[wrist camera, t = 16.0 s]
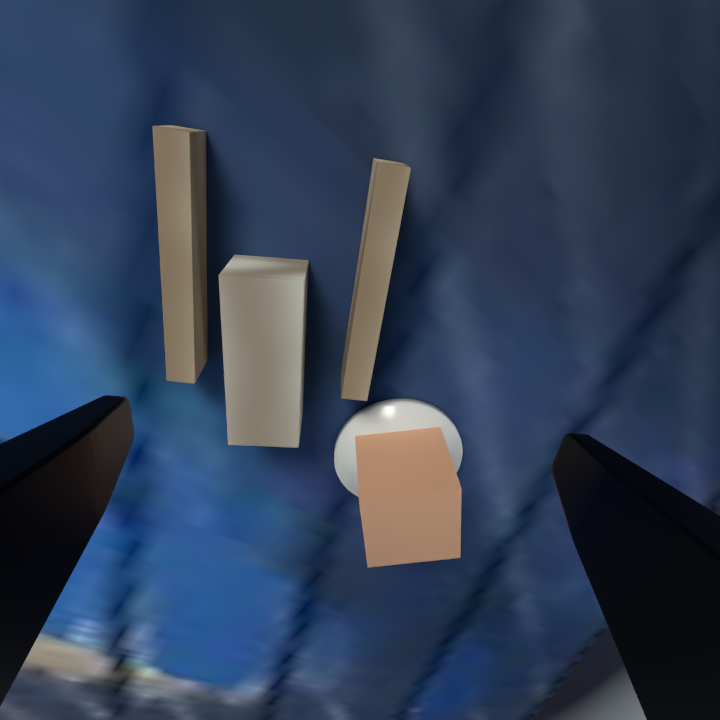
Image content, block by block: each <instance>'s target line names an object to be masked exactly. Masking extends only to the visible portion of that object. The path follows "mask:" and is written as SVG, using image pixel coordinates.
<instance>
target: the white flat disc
mask: <svg viewBox="0 0 720 720" xmlns="http://www.w3.org/2000/svg"><path fill="white" fill-rule="evenodd" d="M435 427H441V430H442V433H443V436H444V439H445V442H446V445H447V448H448V451H449V453H450V456H451V459H452V462H453V465H454V468H455V471H456V473H457V471H458V469H459V467H460V464H461V460H462V453H463V449H462V442H461V439H460V436H459V433H458V431H457V429H456V426H455V425H454V423H453V422H452V420H451V419H450V418H449V417H448V416H447V415H446V414H445V413H444V412H443V411H442V410H440V409H439V408H437V407H435V406H433V405H431V404H429V403H426V402H423V401H420V400H414V399H404V398H399V399H389V400H384V401H380V402H377V403H374V404H371V405H369V406H367V407H365V408H363V409H361V410H360V411H358V412H357V413H356V414H354V415H353V416H352V417H351V418H350V419H349V420H348V421H347V422H346V423H345V424H344V426H343V427H342V428H341V430H340V432H339V434H338V436H337V439H336V442H335V447H334V464H335V469H336V473H337V475H338V477H339V479H340V481H341V482H342V484H343V485H344V486H345V487H346V488H347V489H348V490H349V491H350V492H351V493H353V494H354V495H356V496H357V497H359V493H358V477H357V460H356V443H355V436H359V435H368V434H378V433H387V432H397V431H407V430H416V429H426V428H435Z"/></svg>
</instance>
